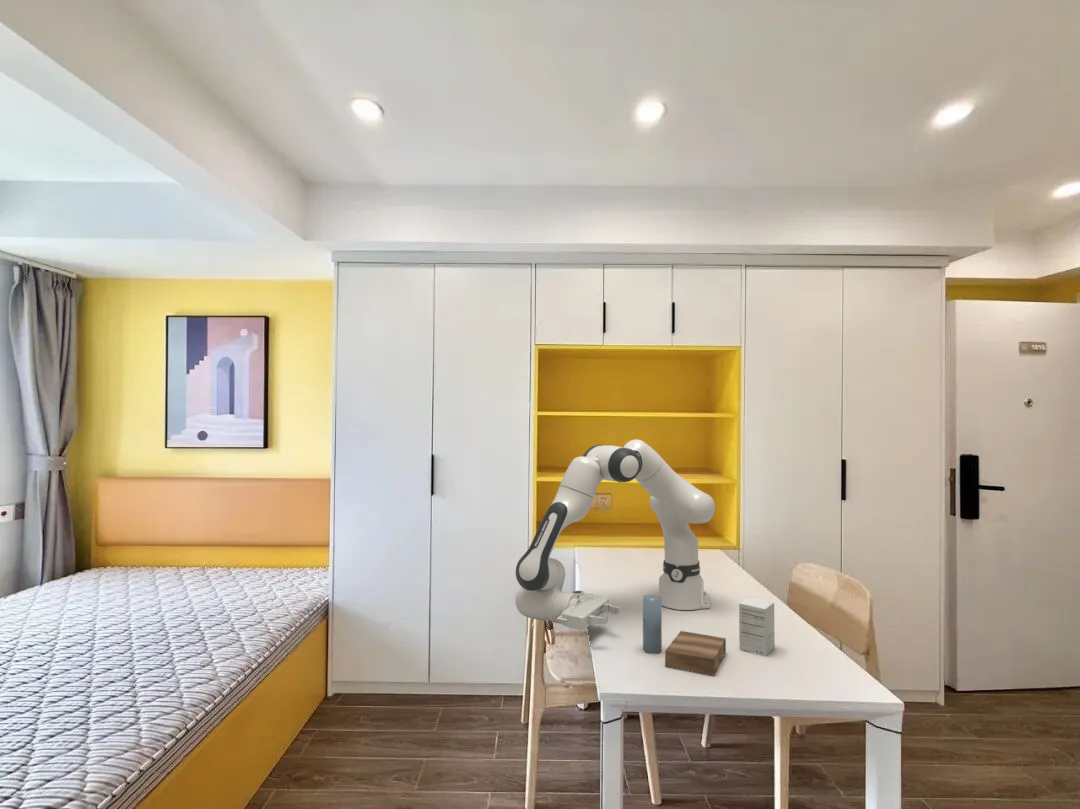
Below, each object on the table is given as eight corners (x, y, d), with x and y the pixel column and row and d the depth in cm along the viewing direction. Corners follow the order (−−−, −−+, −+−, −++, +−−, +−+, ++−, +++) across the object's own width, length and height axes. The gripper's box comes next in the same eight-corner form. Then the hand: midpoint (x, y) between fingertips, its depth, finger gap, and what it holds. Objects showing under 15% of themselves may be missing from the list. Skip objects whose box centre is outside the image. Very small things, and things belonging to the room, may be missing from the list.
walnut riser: (680, 645, 166) (680, 630, 167) (725, 653, 161) (725, 638, 161) (665, 666, 152) (665, 650, 152) (713, 676, 147) (713, 659, 147)
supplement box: (748, 642, 169) (748, 596, 170) (775, 648, 165) (775, 601, 165) (738, 649, 164) (738, 602, 164) (766, 656, 159) (765, 608, 159)
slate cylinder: (645, 645, 166) (645, 594, 167) (663, 648, 164) (663, 596, 164) (640, 651, 162) (640, 599, 162) (658, 655, 160) (658, 601, 160)
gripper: (552, 607, 165) (599, 615, 159) (581, 588, 184) (624, 595, 177) (551, 630, 165) (599, 639, 159) (581, 609, 184) (624, 616, 177)
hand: (613, 615), depth 168 cm, fingers open, 8 cm apart
